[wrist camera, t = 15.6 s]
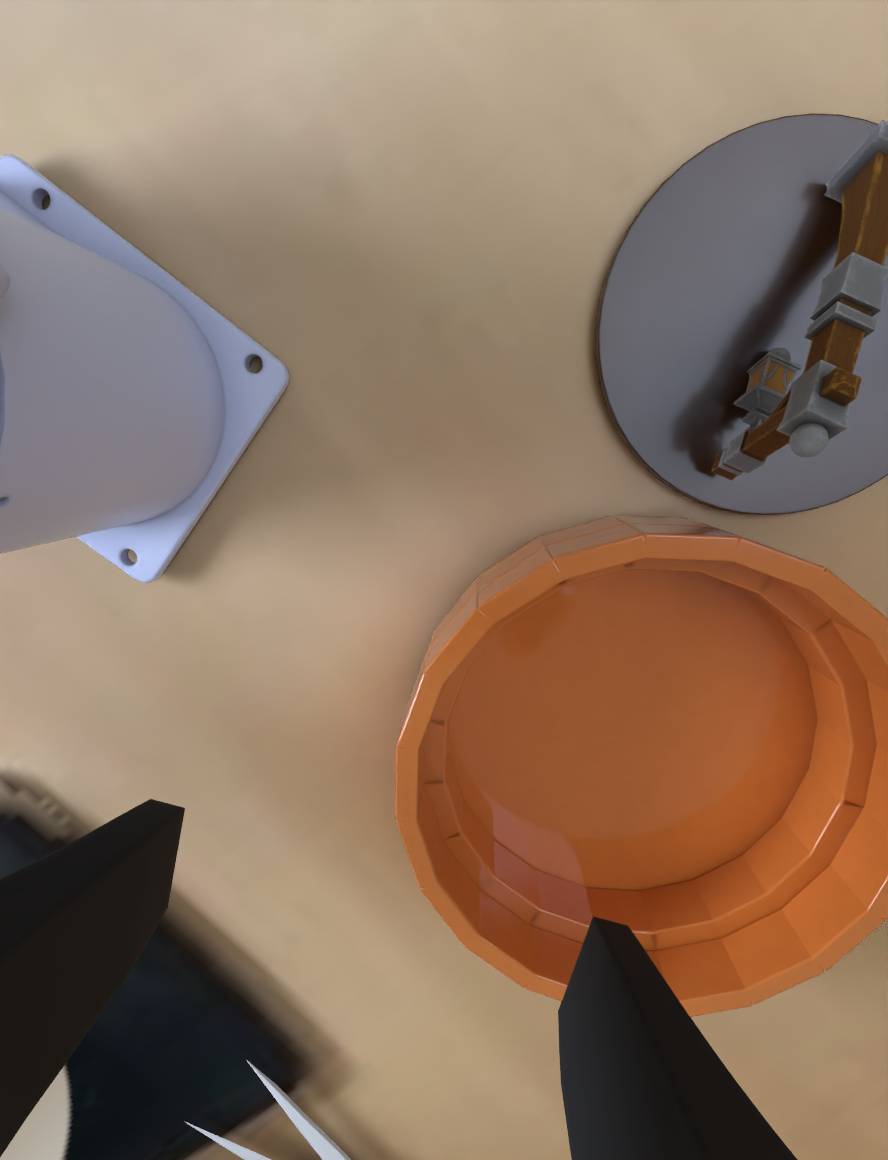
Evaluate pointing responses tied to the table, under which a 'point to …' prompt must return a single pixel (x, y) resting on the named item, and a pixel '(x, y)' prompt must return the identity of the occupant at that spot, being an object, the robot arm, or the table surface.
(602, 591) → the bowl
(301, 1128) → the scissors
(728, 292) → the coaster
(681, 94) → the table surface
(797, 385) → the wooden post with brackets
